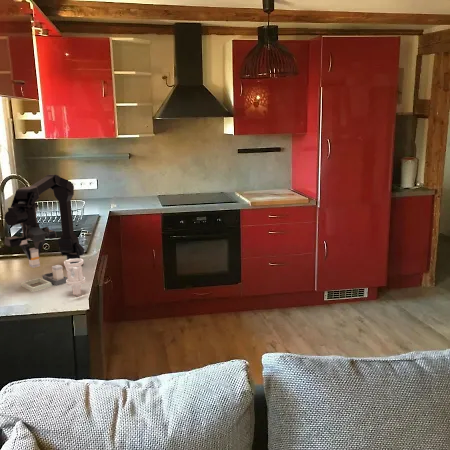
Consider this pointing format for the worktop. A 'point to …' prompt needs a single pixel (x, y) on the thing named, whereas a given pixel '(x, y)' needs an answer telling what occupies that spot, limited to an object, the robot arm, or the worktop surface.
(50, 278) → the fuse board
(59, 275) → the block
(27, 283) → the tray
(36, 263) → the marked fuse
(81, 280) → the white tall plastic piece
